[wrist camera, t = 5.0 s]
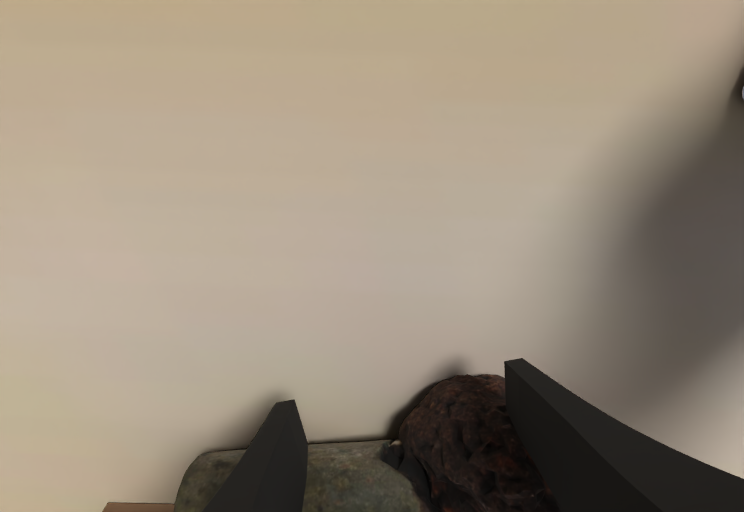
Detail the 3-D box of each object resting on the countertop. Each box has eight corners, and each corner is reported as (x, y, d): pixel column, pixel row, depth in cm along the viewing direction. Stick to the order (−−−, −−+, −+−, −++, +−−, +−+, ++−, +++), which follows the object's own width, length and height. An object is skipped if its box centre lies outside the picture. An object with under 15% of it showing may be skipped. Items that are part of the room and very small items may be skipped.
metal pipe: (231, 499, 17) (179, 664, 12) (196, 389, 15) (112, 531, 10) (581, 455, 18) (682, 594, 12) (599, 343, 15) (731, 453, 10)
